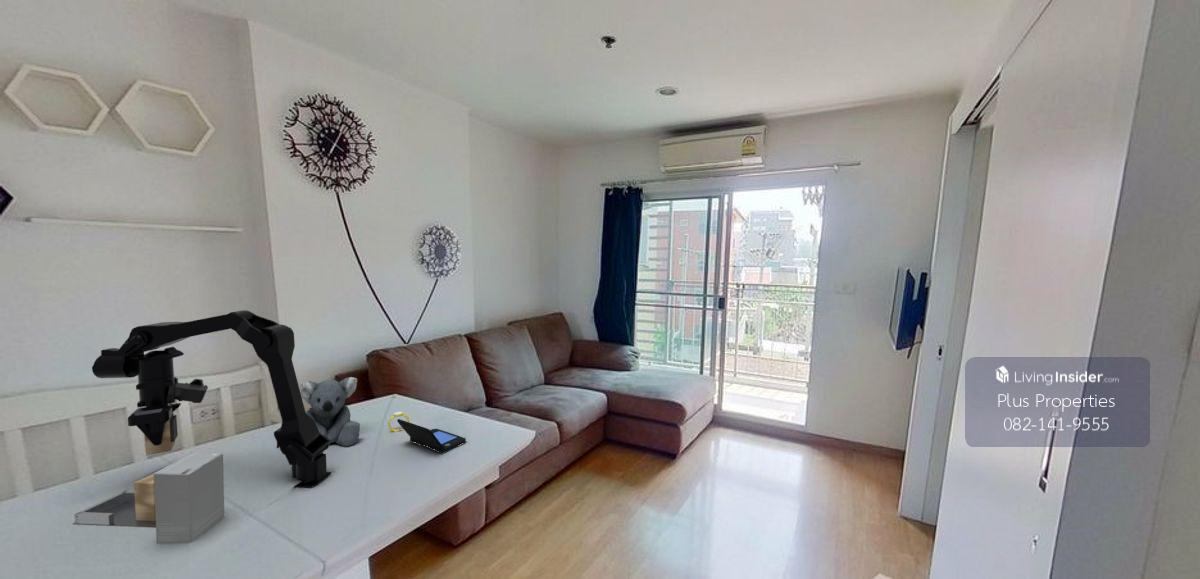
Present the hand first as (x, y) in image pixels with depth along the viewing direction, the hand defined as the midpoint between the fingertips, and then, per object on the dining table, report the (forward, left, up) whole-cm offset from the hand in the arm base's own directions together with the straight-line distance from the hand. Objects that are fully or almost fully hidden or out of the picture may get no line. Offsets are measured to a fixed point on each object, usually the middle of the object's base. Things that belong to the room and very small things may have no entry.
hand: (160, 441), depth 97 cm
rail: (-8, +11, -12) cm, 18 cm away
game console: (-53, -28, -12) cm, 61 cm away
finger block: (0, 0, -2) cm, 2 cm away
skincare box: (-24, +16, -12) cm, 31 cm away
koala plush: (-20, -29, -12) cm, 37 cm away
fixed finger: (-12, +11, -10) cm, 19 cm away
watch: (-38, -37, -12) cm, 54 cm away
